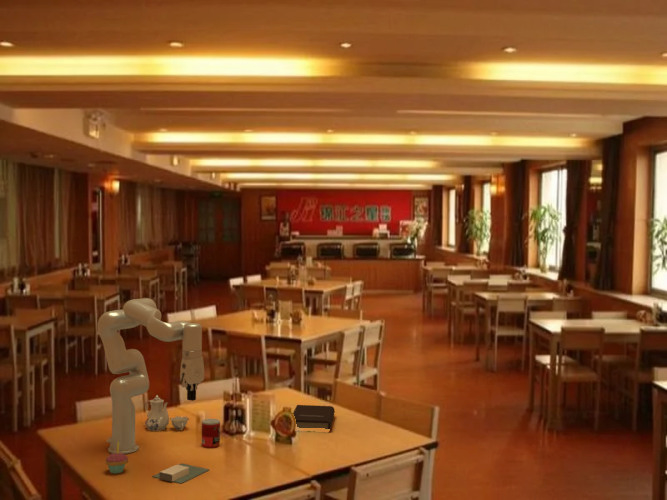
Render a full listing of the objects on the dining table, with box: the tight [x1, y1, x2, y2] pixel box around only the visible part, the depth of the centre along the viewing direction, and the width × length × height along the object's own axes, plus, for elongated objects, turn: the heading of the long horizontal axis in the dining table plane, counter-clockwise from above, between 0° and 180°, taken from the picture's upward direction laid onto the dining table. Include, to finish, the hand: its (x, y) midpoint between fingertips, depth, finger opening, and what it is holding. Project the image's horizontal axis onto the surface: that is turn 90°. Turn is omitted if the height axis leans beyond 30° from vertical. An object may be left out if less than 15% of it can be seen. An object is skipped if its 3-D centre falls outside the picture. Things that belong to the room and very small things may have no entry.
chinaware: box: [144, 394, 190, 432], centre depth 337 cm, size 28×17×17 cm, turn 56°
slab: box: [158, 464, 189, 483], centre depth 271 cm, size 6×3×10 cm
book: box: [292, 404, 336, 430], centre depth 348 cm, size 28×20×6 cm
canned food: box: [201, 418, 221, 449], centre depth 311 cm, size 8×8×11 cm
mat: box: [152, 463, 210, 485], centre depth 275 cm, size 14×17×1 cm
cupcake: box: [104, 440, 129, 475], centre depth 276 cm, size 9×8×12 cm
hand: (191, 399), depth 282 cm, fingers closed
